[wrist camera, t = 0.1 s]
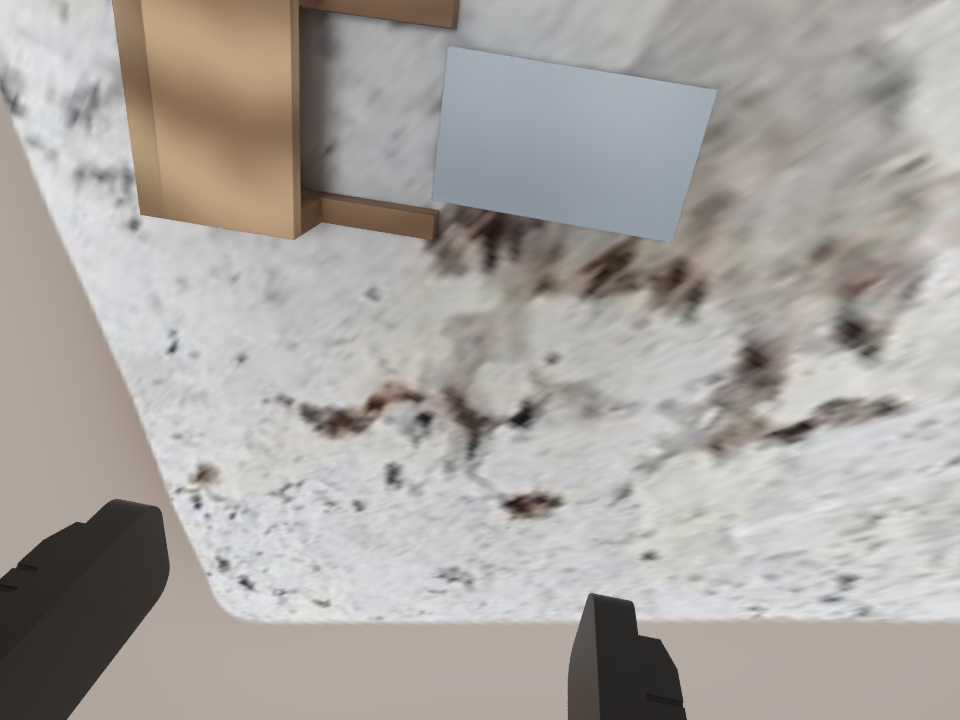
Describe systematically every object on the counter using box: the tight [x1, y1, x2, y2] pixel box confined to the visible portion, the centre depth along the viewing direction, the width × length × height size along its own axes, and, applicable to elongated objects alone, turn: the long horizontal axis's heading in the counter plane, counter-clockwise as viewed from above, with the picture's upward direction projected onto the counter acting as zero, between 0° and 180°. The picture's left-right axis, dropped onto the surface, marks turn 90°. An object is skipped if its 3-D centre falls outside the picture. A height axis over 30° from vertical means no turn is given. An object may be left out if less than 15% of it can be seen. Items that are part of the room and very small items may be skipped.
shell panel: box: [432, 46, 718, 243], centre depth 34 cm, size 8×14×3 cm, turn 81°
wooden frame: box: [112, 0, 459, 240], centre depth 33 cm, size 13×16×6 cm
